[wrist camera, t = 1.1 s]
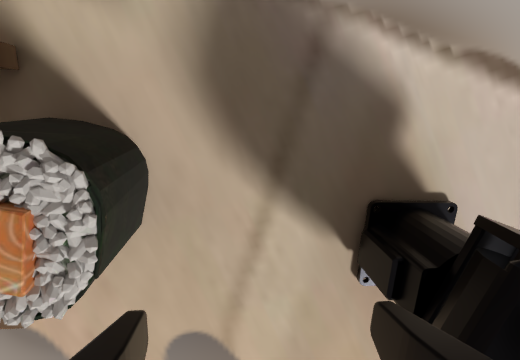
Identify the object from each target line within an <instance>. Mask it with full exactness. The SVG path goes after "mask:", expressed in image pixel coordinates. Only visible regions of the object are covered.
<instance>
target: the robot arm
mask: <svg viewBox="0 0 520 360" xmlns="http://www.w3.org/2000/svg"><path fill="white" fill-rule="evenodd" d="M376 206H378V208H377V210H375V211H374V208H375V207H376ZM449 207H450V209H449V210H448V208H449ZM456 213H457V205H456V204H455V203H453V202H450V201H390V200H375V201H372V202H370V203H369V205H368V209H367V215H366V222H365V228H364V230H363V232H362V235H361V242H360V249H359V255H358V264H359V268H358V275H357V279H358V281H359V282H360V284H361V285H363V286H377V287H378V288H379V290H380V291H381V292H382V293H383V295H384V296H385V297H386V298H387V299H388V300H394V302H395V303H396V304H395V303H393V302H391V301H379V302H376V303H375V305H374V308H373V314H372V320H371V326H370V331H371V336H372V339H373V341H374V344H375V346H376V349H377V352H378V354H379V357H380V359H381V360H520V230H518V229H515V228H513V227H510V226H508V225H505V224H502V223H500V222H497V221H494V220H492V219H489V218H486V217H484V216H481V215H478V217H477V219H476V220H475V222H474V224H475V227H474V229H473V230H472V232H471V234H470V233H468V232H467V231H465V230H463V229H461V228H459V227H457V226H455V225H454V222H455V218H456ZM364 277H366V279H364V280H363V278H364ZM147 346H148V328H147V315H146V312H145V311H144V310H134V311H127V312H126V313H125V314H123V315H122V316H121V317H120V318H119V319H117V320H116V321H115V322H114V323H113V324H111V325H110V326H109V327H108V328H107V329H105V330H104V331H103V332H102V333H101V334H99V335H98V336H97V337H96V338H95V339H93V340H92V341H91V342H90V343H89V344H88V345H86V346H85V347H84V348H83V349H82V350H80V351H79V352H78V353H77V354H76V355H74V356H73V357H72V358H71V359H70V360H145V356H146V352H147Z"/></svg>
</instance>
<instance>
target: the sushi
mask: <svg viewBox="0 0 520 360" xmlns="http://www.w3.org/2000/svg"><path fill="white" fill-rule="evenodd" d="M147 190H148V168H147V164H146V160H145V158H144V156H143V155H142V153H141V151H140V150H139V148H138V147H137V146H136V145H135V144H134V143H133V142H132V141H131V140H130V139H129V138H128V137H127V136H125V135H123V134H121V133H119V132H117V131H115V130H113V129H110V128H106V127H103V126H99V125H95V124H91V123H88V122H84V121H76V120H67V119H57V118H41V119H31V120H21V121H11V122H1V123H0V321H1V318H2V319H3V321H4V324H7V325H18V324H19V323H20V322H21V325H22V327H24V328H26V327H28V326H29V325H31V324H32V323H33V322H34V320H38V319H43V318H45V319H46V318H52V317H53V316H54V317H55V318H56V319H60V320H61V319H62V318H63V316H64V314H65V313H66V311H67V309H69V308H71V307H72V306H73V305H74V304H75V303H76V302H77V301H78V300H79V299H80V298H81V297H82V296H83V295H84V293H85V292H86V291H87V289H88V288H89V287H90V285H91V284H92V283H93V281H94V280H95V279H97V278H98V277H99V276H100V275H101V273H102V272H103V271H104V270H105V268H106V267H107V266H108V265H109V263H110V262H111V261H112V260H113V259H114V257H115V256H116V255H117V254H118V252H119V251H120V250H121V249H122V248H123V246H124V245H125V244H126V243H127V241H128V240H129V239H130V238H131V236H132V235H133V234H134V233H135V232H136V230H137V229H138V228H139V227H140V225H141V223H142V217H143V212H144V206H145V201H146V195H147Z"/></svg>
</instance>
